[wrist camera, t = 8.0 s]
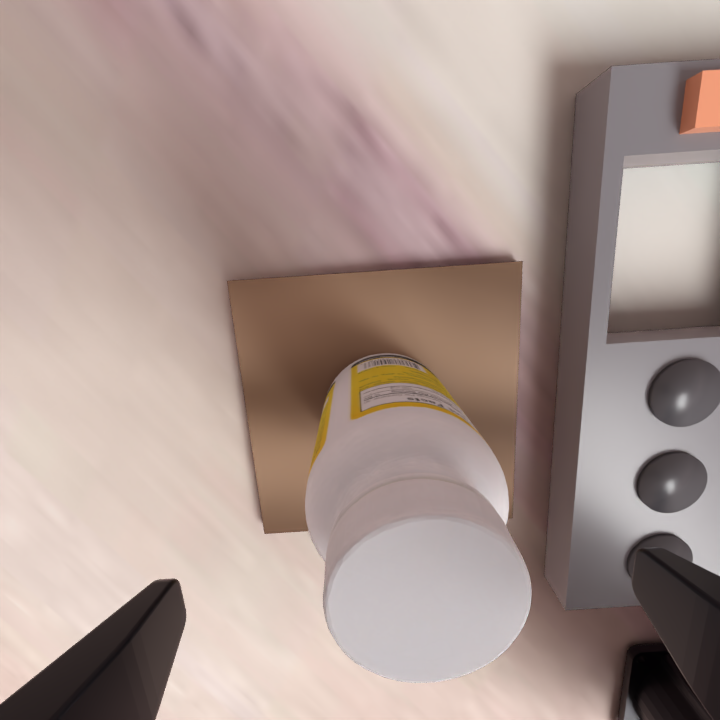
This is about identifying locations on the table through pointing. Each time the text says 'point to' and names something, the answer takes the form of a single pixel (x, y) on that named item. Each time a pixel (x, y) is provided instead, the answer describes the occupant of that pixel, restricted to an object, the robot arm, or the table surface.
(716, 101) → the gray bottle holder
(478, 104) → the table surface
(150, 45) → the table surface
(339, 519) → the supplement bottle
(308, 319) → the walnut pad
